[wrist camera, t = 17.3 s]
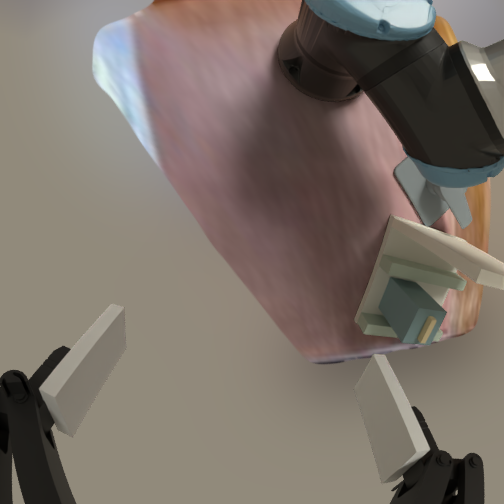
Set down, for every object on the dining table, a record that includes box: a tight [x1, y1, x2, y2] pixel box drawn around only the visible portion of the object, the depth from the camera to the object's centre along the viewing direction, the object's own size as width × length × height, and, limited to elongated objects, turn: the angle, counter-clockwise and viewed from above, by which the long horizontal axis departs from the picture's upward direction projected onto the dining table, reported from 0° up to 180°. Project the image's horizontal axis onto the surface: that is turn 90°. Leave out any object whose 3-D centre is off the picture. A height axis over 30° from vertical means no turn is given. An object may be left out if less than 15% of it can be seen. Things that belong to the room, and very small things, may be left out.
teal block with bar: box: [378, 277, 447, 345], centre depth 39 cm, size 6×6×12 cm
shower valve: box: [394, 157, 472, 229], centre depth 38 cm, size 12×6×15 cm
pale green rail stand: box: [354, 215, 504, 341], centre depth 34 cm, size 20×18×24 cm
